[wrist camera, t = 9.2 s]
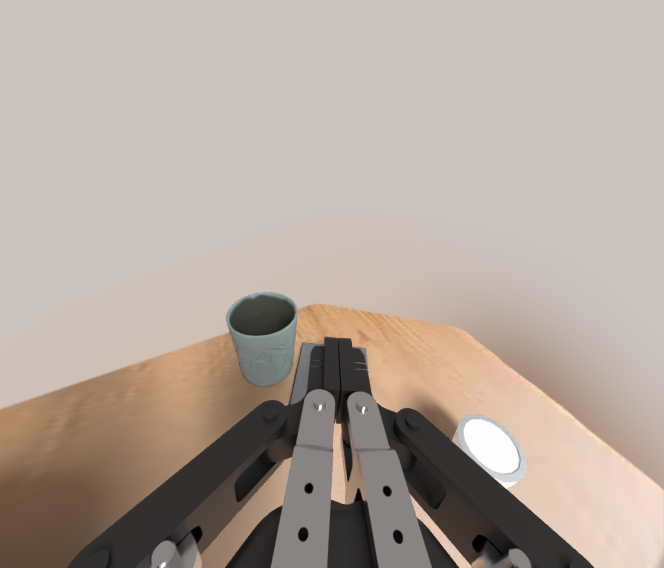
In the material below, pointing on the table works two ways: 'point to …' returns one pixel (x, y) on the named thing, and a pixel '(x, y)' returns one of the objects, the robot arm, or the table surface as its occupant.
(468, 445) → the shot glass
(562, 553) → the robot arm
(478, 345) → the table surface
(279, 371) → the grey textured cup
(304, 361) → the mat
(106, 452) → the table surface
